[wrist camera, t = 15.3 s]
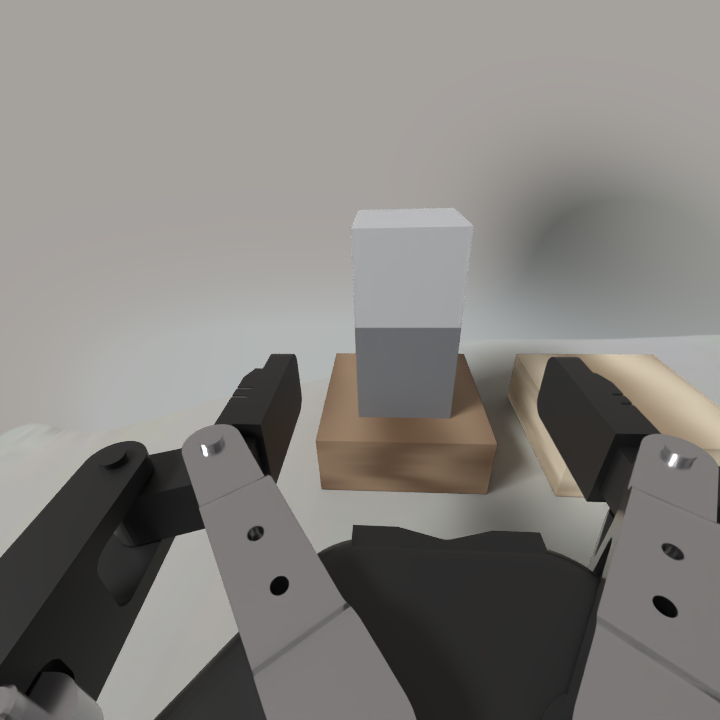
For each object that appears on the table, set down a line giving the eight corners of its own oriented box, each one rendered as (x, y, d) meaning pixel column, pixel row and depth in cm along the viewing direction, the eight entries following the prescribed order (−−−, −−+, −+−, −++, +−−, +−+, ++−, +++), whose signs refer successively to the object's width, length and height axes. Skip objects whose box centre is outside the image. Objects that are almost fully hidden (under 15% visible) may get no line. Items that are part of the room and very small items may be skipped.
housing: (438, 369, 27) (453, 207, 21) (450, 418, 22) (473, 226, 16) (363, 369, 27) (358, 210, 21) (358, 416, 22) (350, 228, 17)
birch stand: (634, 397, 30) (652, 354, 27) (736, 501, 21) (774, 450, 19) (507, 396, 30) (516, 354, 28) (555, 496, 22) (573, 445, 20)
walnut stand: (458, 395, 30) (463, 353, 28) (486, 494, 22) (497, 444, 20) (339, 394, 31) (336, 353, 29) (321, 489, 23) (315, 440, 21)
